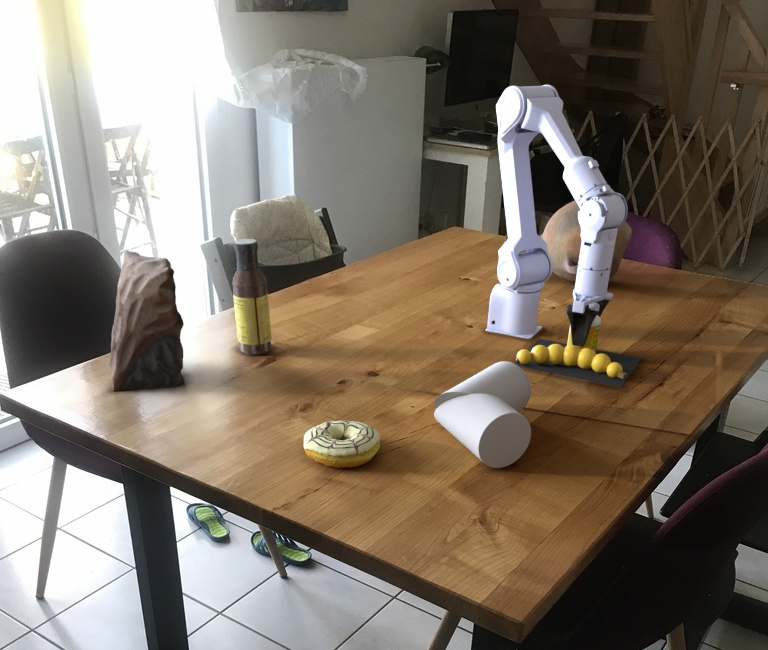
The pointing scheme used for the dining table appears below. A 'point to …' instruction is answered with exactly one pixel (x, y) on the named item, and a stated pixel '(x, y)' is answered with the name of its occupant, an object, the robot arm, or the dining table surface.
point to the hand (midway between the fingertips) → (582, 340)
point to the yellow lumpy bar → (571, 358)
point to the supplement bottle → (590, 331)
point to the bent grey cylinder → (489, 413)
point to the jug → (575, 242)
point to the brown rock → (146, 326)
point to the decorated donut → (342, 443)
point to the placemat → (584, 374)
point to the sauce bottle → (251, 300)
